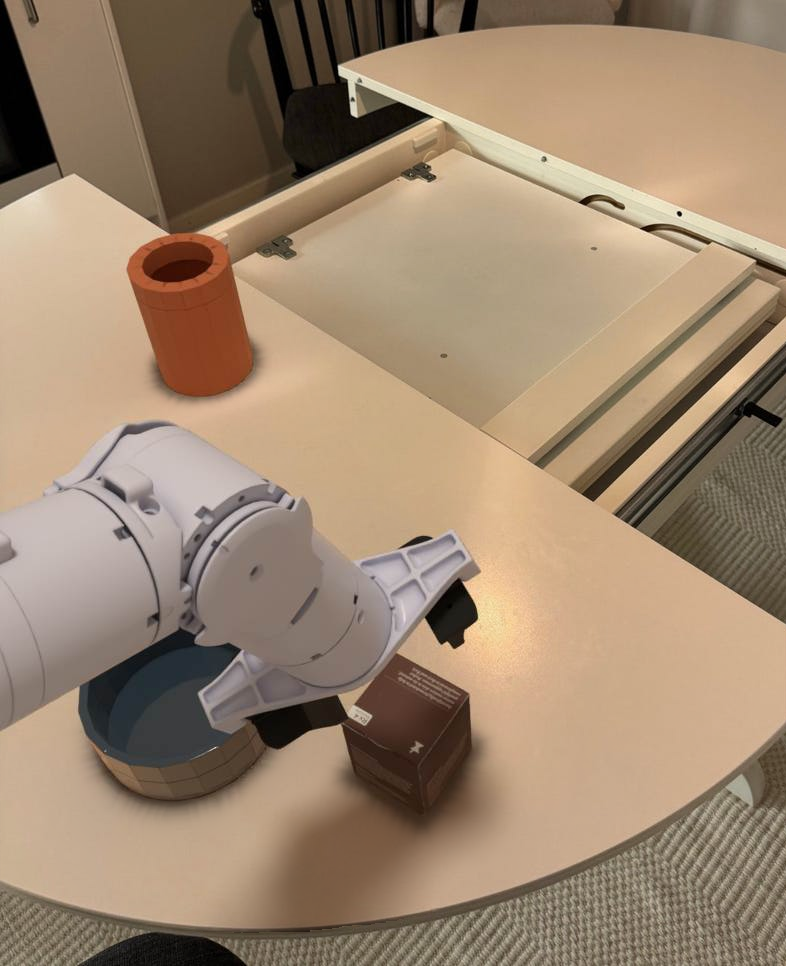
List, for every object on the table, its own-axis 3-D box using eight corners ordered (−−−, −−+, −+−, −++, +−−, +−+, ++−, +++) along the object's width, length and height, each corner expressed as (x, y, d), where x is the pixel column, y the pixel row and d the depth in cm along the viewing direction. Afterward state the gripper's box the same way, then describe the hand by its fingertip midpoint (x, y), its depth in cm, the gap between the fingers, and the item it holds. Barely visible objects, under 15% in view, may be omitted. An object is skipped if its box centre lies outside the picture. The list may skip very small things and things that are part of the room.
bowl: (172, 838, 62) (151, 805, 58) (66, 723, 67) (41, 687, 63) (313, 709, 68) (304, 672, 64) (206, 614, 73) (191, 575, 69)
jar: (199, 409, 88) (166, 304, 79) (143, 368, 92) (107, 263, 83) (271, 363, 92) (248, 258, 83) (215, 325, 96) (187, 221, 87)
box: (474, 747, 66) (473, 693, 60) (424, 820, 62) (418, 769, 57) (402, 704, 68) (395, 649, 62) (350, 772, 65) (337, 720, 59)
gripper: (395, 442, 43) (468, 542, 55) (124, 617, 43) (256, 679, 55) (471, 565, 40) (531, 642, 52) (178, 754, 40) (307, 788, 52)
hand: (394, 668), depth 54 cm, fingers open, 7 cm apart
